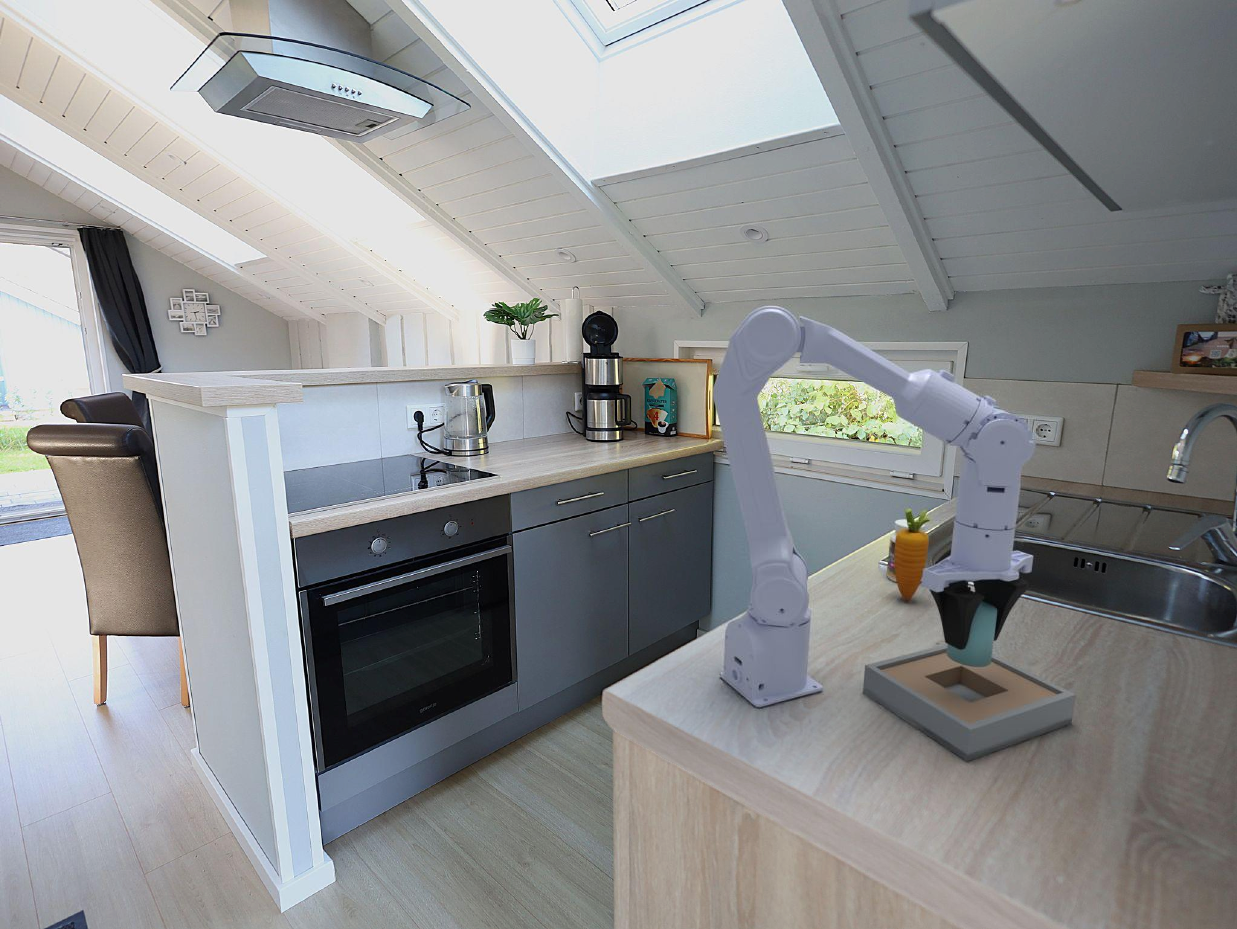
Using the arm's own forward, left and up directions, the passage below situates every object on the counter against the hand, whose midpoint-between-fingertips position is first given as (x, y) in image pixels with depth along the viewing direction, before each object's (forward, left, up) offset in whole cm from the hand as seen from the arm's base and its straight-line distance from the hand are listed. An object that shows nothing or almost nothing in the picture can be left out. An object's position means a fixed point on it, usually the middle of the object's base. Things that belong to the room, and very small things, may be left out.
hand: (970, 641), depth 74 cm
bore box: (0, 0, -8) cm, 8 cm away
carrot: (+18, +25, -8) cm, 32 cm away
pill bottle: (+25, +32, -8) cm, 41 cm away
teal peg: (0, 0, -2) cm, 2 cm away
